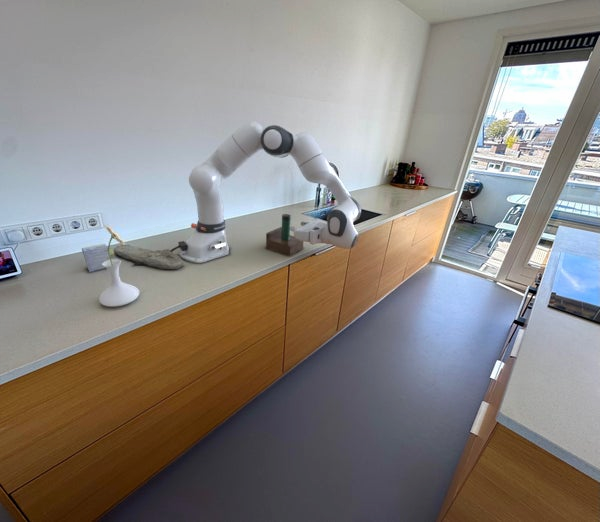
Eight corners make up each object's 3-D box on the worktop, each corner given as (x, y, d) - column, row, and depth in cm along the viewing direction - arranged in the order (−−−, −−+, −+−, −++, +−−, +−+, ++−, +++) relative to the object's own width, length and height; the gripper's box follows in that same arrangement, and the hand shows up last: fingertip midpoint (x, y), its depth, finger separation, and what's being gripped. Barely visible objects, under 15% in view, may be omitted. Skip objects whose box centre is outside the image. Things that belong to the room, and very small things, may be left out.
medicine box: (110, 262, 117) (105, 243, 113) (113, 266, 114) (108, 246, 110) (87, 268, 112) (81, 247, 108) (89, 272, 109) (83, 251, 105)
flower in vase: (136, 308, 91) (120, 234, 81) (95, 312, 88) (72, 236, 77) (144, 287, 103) (130, 220, 92) (107, 290, 99) (89, 221, 88)
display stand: (289, 256, 134) (290, 240, 131) (265, 248, 141) (266, 233, 137) (302, 248, 144) (304, 233, 140) (280, 241, 150) (280, 226, 146)
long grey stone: (128, 250, 131) (108, 259, 123) (125, 239, 129) (104, 248, 120) (190, 263, 120) (173, 274, 112) (188, 251, 118) (170, 262, 109)
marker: (286, 241, 137) (287, 217, 132) (279, 239, 139) (280, 215, 134) (291, 238, 141) (292, 215, 135) (284, 236, 142) (285, 213, 137)
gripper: (333, 220, 134) (307, 214, 141) (312, 231, 118) (284, 224, 125) (331, 232, 137) (306, 226, 143) (310, 245, 121) (283, 238, 127)
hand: (296, 225), depth 134 cm, fingers open, 8 cm apart
